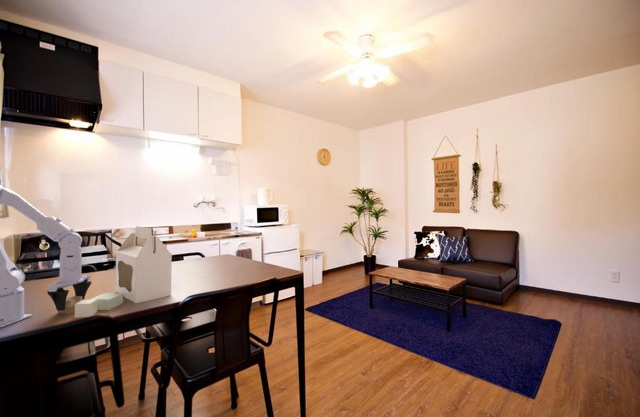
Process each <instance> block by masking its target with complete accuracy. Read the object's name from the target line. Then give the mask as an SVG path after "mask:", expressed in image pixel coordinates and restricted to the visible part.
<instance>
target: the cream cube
mask: <svg viewBox="0 0 640 417" xmlns="http://www.w3.org/2000/svg"><path fill="white" fill-rule="evenodd" d="M97 303H98V299H91V298H89V299H84V300H81V301H80V302H78V303H76V304H75V312H74V319H75V318H76V319H78V318H89V317H90V316H91V317H92V316H94V315H95V314H97V313H98V310H97Z"/></svg>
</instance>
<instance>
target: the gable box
mask: <svg viewBox="0 0 640 417" xmlns="http://www.w3.org/2000/svg"><path fill="white" fill-rule="evenodd" d="M153 229H154V228H151V227H146V226H138V225H136V226H135V232H132V233H130V234H129V236H128V237H127V238H126V239H125V240H124V242H123V243H122V245H120V247H119V248H118V249H117V250H116V251H115V293H123V298H125V299H127V300H129V301H131V302H133V303H134V304H139V303H144V302H148V301H153V300H157V299H162V298H166V297H169V296H172V264H173V263H172V257H173V256H172V254H173V253H171V252H170V251H169V250H168V248H167V247H166V246H165V244H164V242H163V241H162V240H161V239H160V238H159V237H158V236H156V234H157V230H153ZM145 239H146V240H145Z"/></svg>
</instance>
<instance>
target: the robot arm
mask: <svg viewBox="0 0 640 417" xmlns="http://www.w3.org/2000/svg"><path fill="white" fill-rule="evenodd" d="M0 205H2V206H3V205H4V206H8V207H12V208H13V209H15V210H16V211H17V212H19V213H20V214H22V215H24V216H25V217H27V218H28V219H30V220H31V221H33V222H34V223H36V230H38V231H39V232H41V233H42V234H43V235H45V236H46V237H48V238H49V240H50V239H51V240H52V241H53V242H56V243H58V247H59V248H60V254H59V281H56V282H54V283H53V284H48V287H47V291H46V292H47V293H46V294H47V295H48V296H49V297H50V299H51V300H52V301H53V304H54V306H55V309H56V311H57V312H58V311H63V310H65V305H66V298H67V297H68V295H69V292H70V290H69V289H64V288H67V287H73V291H74V296H82V300H85V298H86V295H87V292H88V290H89V288H90V286H91V285H92V281H91V275H90V274H83V275H82V261H83V260H82V247H81V245H82V242H83V238H82V236H81V235H80V234H79V232H76V231H75V229H74V228H70V227H68V226H67V225H66V224H64V222H62V220H63V219H61V218H60V217H55V216H46V215H45V214H44V213H43V212H41V211H40V210H39V209H37V208H36V207H35V206H34V205H32V204H31V203H30V202H29V201H28V200H26V199H25V198H24V197H23V196H21V195H19V194H18V193H16V192H15V191H13V190H12V189H9V188H7V187H6V186H5V185H3V184H2V183H0ZM25 280H26V274H25V273H24V272H23V271H22V270H20V269H19V268H17V266H16V263H14V262H13V261H12V260H11V259H10V257H9V256H8V254H7V252H6V249H5V247H4V246H3V243H2V242H1V241H0V327H1V328H3V327H5V326H10V325H12V324H14V323H16V322H20V321H21V320H24V319H27V318H29V317H32V315H33V314H32V313H28V314H27V313H25V288H24V287H23V286H22V284H23V283H24V282H25Z"/></svg>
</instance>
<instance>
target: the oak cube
mask: <svg viewBox="0 0 640 417" xmlns="http://www.w3.org/2000/svg"><path fill="white" fill-rule="evenodd" d="M81 300H82V296H75V295H69V296H67V298H66V305H65V310H63V311H57V314H70V313H71V314H75V304H76V303H78V302H80V301H81Z"/></svg>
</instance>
